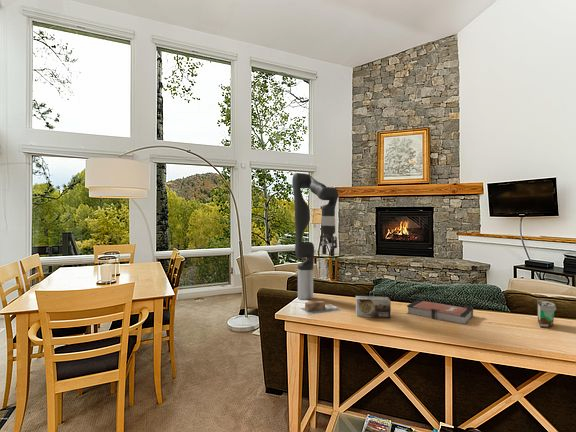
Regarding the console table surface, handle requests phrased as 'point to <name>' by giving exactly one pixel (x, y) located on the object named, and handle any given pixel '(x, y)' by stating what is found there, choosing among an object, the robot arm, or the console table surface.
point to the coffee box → (373, 307)
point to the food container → (546, 314)
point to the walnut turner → (318, 306)
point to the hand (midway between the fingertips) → (328, 255)
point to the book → (441, 311)
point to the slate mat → (320, 311)
